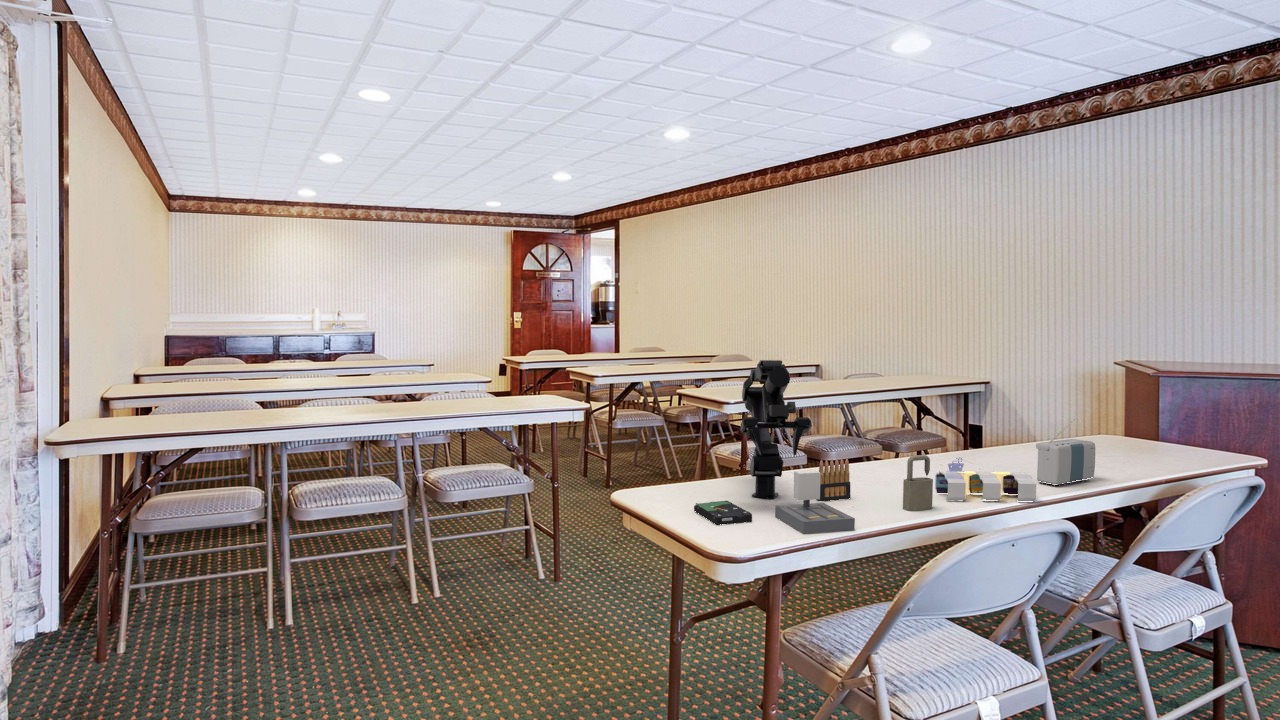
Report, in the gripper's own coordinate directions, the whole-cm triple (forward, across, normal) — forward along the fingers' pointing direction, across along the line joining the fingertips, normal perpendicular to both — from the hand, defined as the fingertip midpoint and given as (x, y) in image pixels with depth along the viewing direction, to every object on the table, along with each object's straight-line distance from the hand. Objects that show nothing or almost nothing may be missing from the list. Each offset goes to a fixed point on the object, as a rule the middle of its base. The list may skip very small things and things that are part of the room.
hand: (778, 454), depth 201 cm
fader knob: (+15, +6, -1) cm, 16 cm away
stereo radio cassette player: (-4, +102, +40) cm, 109 cm away
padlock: (+12, +40, +10) cm, 43 cm away
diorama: (+7, +64, +21) cm, 68 cm away
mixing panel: (+19, +7, -3) cm, 21 cm away
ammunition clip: (+8, +19, +19) cm, 28 cm away
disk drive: (+17, -16, +4) cm, 23 cm away
